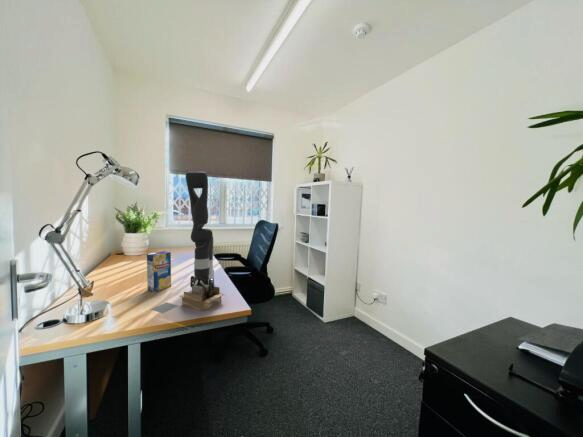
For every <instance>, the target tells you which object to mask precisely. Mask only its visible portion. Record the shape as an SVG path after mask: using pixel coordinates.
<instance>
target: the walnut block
mask: <svg viewBox="0 0 583 437" xmlns="http://www.w3.org/2000/svg"><path fill="white" fill-rule="evenodd" d="M206 286H207V285H206ZM207 288H208V287H207ZM211 288H212V286H211ZM208 289H209V288H208ZM191 291H192V293H193V294H197V295H202V302H203V301H205V300H207V298H206V292H207V291H206V289H205V288H204V287H203V286H202V285H198V284H197V285H195V286H192V287H191ZM211 297H212V291H211ZM211 297H210V298H211ZM208 299H209V298H208Z"/></svg>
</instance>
